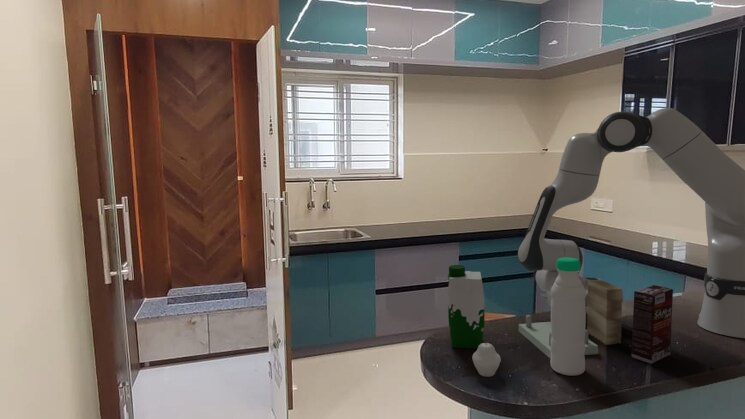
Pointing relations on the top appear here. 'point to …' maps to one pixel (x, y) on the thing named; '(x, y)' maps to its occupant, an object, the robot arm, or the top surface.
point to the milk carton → (465, 307)
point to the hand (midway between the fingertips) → (600, 305)
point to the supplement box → (652, 323)
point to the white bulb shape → (486, 360)
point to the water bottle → (568, 319)
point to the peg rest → (549, 336)
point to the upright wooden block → (604, 311)
